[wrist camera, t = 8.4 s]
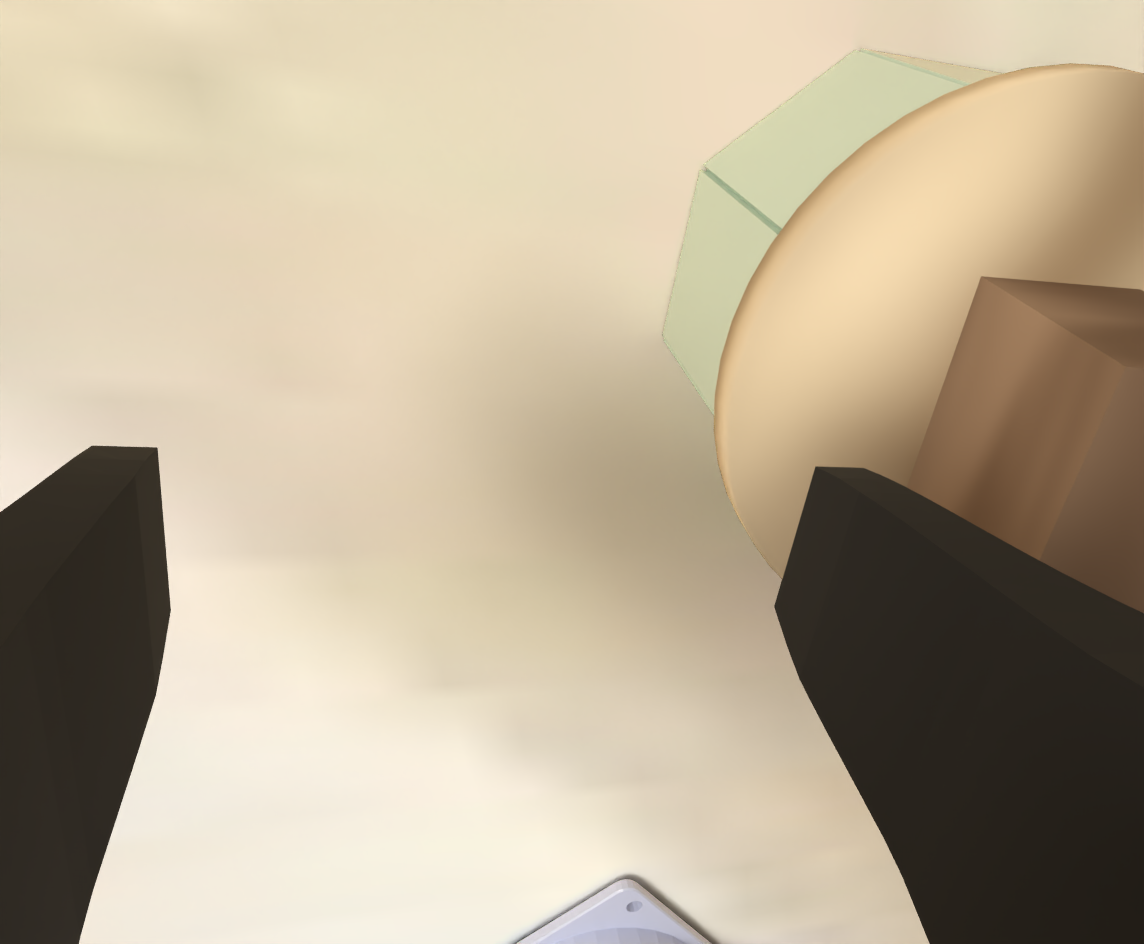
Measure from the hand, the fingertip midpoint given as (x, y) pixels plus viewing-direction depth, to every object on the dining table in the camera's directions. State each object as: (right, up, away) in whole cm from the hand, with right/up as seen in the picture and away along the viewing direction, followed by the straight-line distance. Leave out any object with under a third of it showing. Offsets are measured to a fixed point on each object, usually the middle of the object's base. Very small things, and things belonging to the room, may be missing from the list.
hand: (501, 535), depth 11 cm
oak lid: (+8, +2, +7) cm, 11 cm away
